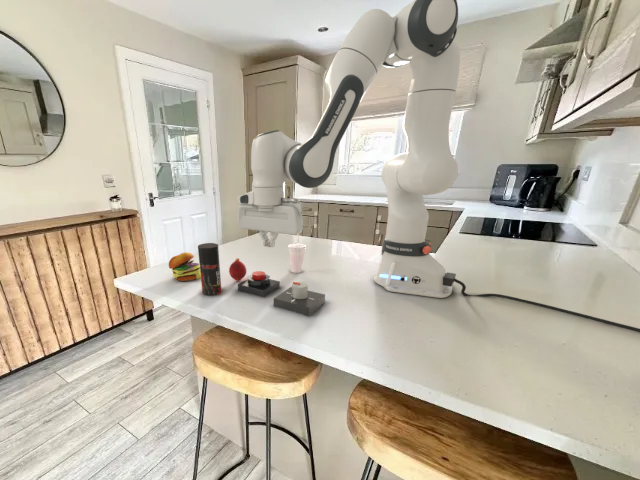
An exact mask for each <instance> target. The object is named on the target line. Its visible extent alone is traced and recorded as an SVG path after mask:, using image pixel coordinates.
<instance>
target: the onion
mask: <svg viewBox="0 0 640 480" xmlns="http://www.w3.org/2000/svg"><path fill="white" fill-rule="evenodd" d="M228 272H229V276H230V277H231V278H232V279H233V280H235V281H236V282H241V280H242V279H244V278H245V276H246V274H247V267H246V265H245V264H244V263H243V262H242V261H241V260H240V258H239V257H237V258H236V259H235V260H234V261H233V262H232V263H231V264H230V266H229V269H228Z"/></svg>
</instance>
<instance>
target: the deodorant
mask: <svg viewBox="0 0 640 480" xmlns="http://www.w3.org/2000/svg"><path fill="white" fill-rule="evenodd" d="M197 253H198V262H199V265H200V273H201V277H200V282H201V283H200V284H201V292H202V295H203V296H207V297H215V296H218V295H221V294H222V279H221V266H220V251H219V244H218V243H214V242H205V243H201V244H200V243H199V244H198V245H197Z"/></svg>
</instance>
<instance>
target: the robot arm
mask: <svg viewBox="0 0 640 480" xmlns="http://www.w3.org/2000/svg"><path fill="white" fill-rule="evenodd" d="M458 20H459V6H458V0H413V1H411V2H410V3H408V4H406V5H405V6H404V7H403V8H401V10H400V11H398V13H396V14H395V15H394V16H391V15H390V14H389V13H388V12H387V11H385V10H383V9H381V8H372V9H369V10H367V11H365V12H364V13H363V14H362V15H361V16H360V17H359V19H357V21H356V22H355V23H354V25H353V26H352V28H351V29H350V30H349V32H348V33H347V35H346V37H345V38H344V39H343V42H341V45H340V46H339V48H338V51H337V53H335V55H334V58H333V60H332V62H331V64H330V66H329V69H328V71H327V75H326V77H325V82H324V83H325V90H326V92H327V94H328V96H329V102H328V104H327V106H326V108H325V110H324V112H323V115H322V116H321V118H320V120H319V122H318V124H317V126H316V128H315V130H314V132H313V133H312V135H311V136H310V138H309V139H307V140H306V141H305V142H304V143H301V142H299V141H296V140H294V139H292V138H290V137H289V136H288V135H287V134H285V133H283V131H282V130H279V129H275V130H269V131H266V132H265V131H264V132H262V133H259V134H257V135H256V136H255V137H254V139H253V140H252V143H251V149H250V150H251V151H250V158H251V159H250V169H251V173H252V183H251V191H248V192H246V193H243V194H240V195H238V196H237V197H236V199H237V200H236V201H237V203H238V204H239V205H238V206H237V210H236V220H237V226H238V228H239V229H241V230H242V229H243V230H250V231H257V232H258V231H259V236H260V238H261V240H262V241H263V243H262V245H263V247H267V248H274V247H275V246H276V240H277V238H278V237H279V234H284V235H292V236H297V234H299V235H300V234H301V233H302V232H303V230H304V219H303V203H302V202H301V201H300V200H298V199H297V198H288V197H285V193H286V191H285V187H286V186H285V185H286V184H285V183H286V182H288V181H289V182H292V183H295V184H297V185H299V186H301V187H302V188H307V189H313V188H317V187H319V186H322V185H323V184H324V183H325V182H326V181H327V180H328V179H329V178H330V175H331V174H332V171H333V167H334V162H335V158H336V157H335V156H336V153H337V149H338V147H339V145H340V143H341V140H342V139H343V137H344V135H345V133H346V131H347V129H348V127H349V125H350V123H351V121H352V119H353V117H354V116H355V114H356V111H357V110H358V107H359V105H360V104H361V102H362V100H363V98H364V96H365V95H366V93H367V92H368V90H369V88H370V87H371V85H372V84H373V81H374V80H375V78H376V76H377V74H378V73H379V71H380V69H381V68H382V67H385V68H390V69H391V68H392V69H393V68H394V69H395V68H397V67H401V66H403V65H405V64H408V65H409V67H410V72H411V73H410V74H411V78H410V79H411V80H410V84H409V88H408V92H407V93H408V94H407V99H406V105H405V109H404V110H405V111H404V115H403V122H402V130H403V132H404V134H405V136H406V141H407V152H402V153H399V154H397V155H394V156H392V157H390V158H389V159H388V160H386V162H385V163H384V164H383V167H382V170H381V180H382V181H383V184H384V185H385V189H386V190H385V191H386V197H387V223H386V231H385V237H384V238H383V241H382V245H381V258H380V263H379V265H378V269H377V272H376V274H375V275H374V278H373V281H374V282H375V283H376V284H378V285H379V286H381V287H383V288H384V289H385V290H386V291H388V292H393V293H401V294H407V295H414V296H422V297H430V298H436V299H444V298H448V297H449V296H450V295H451V294H452V292H453V284H454V283H457V284H458V285H460V286H461V287H462V288H461V291H460V292H461V295H463V297H481V298H483V297H485V298H486V297H494V298H502V299H507V300H512V301H517V302H519V303H524V304H528V305H532V306H537V307H540V308H545V309H548V310H553V311H555V312H561V313H564V314H568V315H572V316H575V317H579V318H583V319H587V320H591V321H594V322H599V323H602V324H606V325H610V326H613V327H617V328H622V329H625V330H630V331H633V332H637V333H640V328H639V327H634V326H631V325H627V324H623V323H619V322H615V321H611V320H608V319H603V318H599V317H596V316H593V315H588V314H584V313H580V312H576V311H572V310H568V309H564V308H560V307H557V306H552V305H548V304H546V303H545V304H544V303H541V302H537V301H531V300H528V299H523V298H519V297H515V296H510V295H505V294H501V293H481V294H468V293H466V289H467V286H466V284H465V283H464V282H463V281H461V280H459V279H457V278H456V276H457V274H456V273H454V272H448V271H447V272H446V269H445V266H444V265H442V264H441V263H440V262H439V261H438V260H437V259H436V258H435V257H434V256H432V255H431V254H430V253H431V250H432V243H431V242H427V241H426V240H425V239H426V234H427V229H428V225H429V219H430V214H429V211H428V209H427V208H426V204H425V201H424V196H429V195H430V196H431V195H436V194H437V195H438V194H440V193H443V192H446V191H447V190H448V189H450V188H451V187H452V185H453V184H455V181H456V180H457V177H458V172H459V167H458V165H459V164H458V162H457V160H456V159H455V158H454V156H453V154H452V152H451V146H450V135H449V131H450V122H451V117H452V110H453V106H454V102H455V96H456V91H457V87H458V81H459V75H460V64H461V49H460V46H459V45H458V44H457V43H456V42H454V39H455V38H456V35H457V30H458V28H457V26H458V22H459V21H458ZM269 233H270V234H269ZM267 234H269V235H270V239H269V237H268V235H267Z"/></svg>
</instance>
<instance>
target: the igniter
mask: <svg viewBox="0 0 640 480" xmlns="http://www.w3.org/2000/svg"><path fill="white" fill-rule="evenodd" d="M280 288H281V281H279V280H276V279H271V276H270V275H268V274H266V273H265V279H263V280H254V279H252V274H250V275H248V276H247V278H246V279H244V280H243V281H240V282H239V283H237V291H238V292H242V293H243V292H244V293H246V294H249V295H254V296H257V297H261V298H266V297H267V296H269V295H271V294H273V292H274V293H275V291H277V290H278V289H280Z"/></svg>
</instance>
